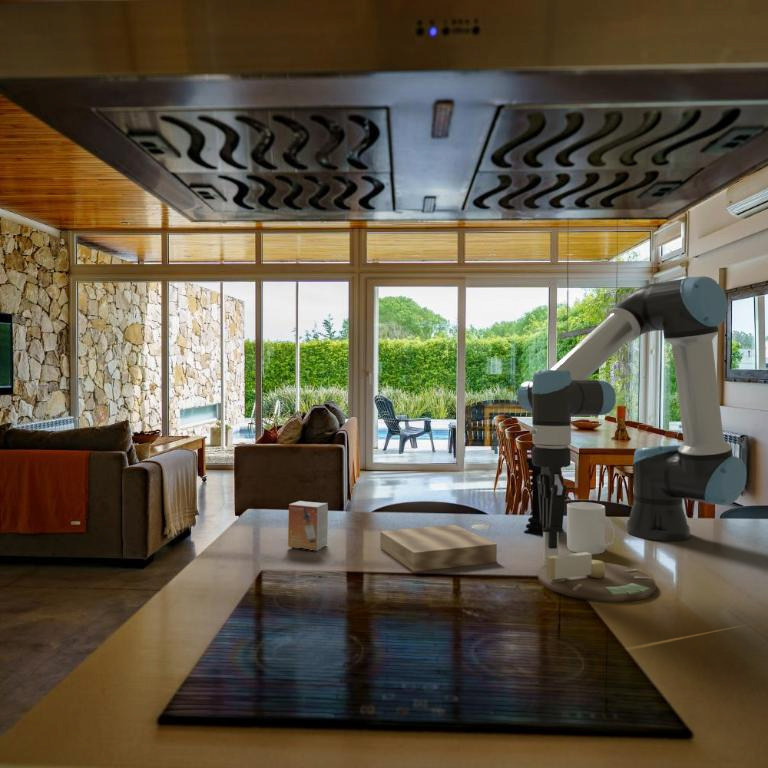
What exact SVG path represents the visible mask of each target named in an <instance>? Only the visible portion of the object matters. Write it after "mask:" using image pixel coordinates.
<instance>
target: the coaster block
mask: <svg viewBox="0 0 768 768" xmlns="http://www.w3.org/2000/svg"><path fill="white" fill-rule="evenodd" d="M379 533H380V536H379V538H380V539H379V541H380V543H379V545H380V546H379V548H380V549H381V550H383V551H384V552H385V553H387V554H388V555H390V557H392V558H394V559H395V560H396V561H398V562H400V563H401V564H402V565H404V567H406V568H408V569H409V570H411V571H412V572H414V573H415V572H422V571H423V572H424V571H431V570H441V569H448V568H457V567H466V566H475V565H483V564H485V565H486V564H493V563H497V561H498V560H497V559H498V557H497V553H498V552H497V551H498V550H497V548H498V547H497V543H495V542H494V541H493V542H492V541H491V540H489V539H487V538H484V537H482V536H480V535H478V534H476V533H474V532H471V531H470V530H467V529H465V528H463V527H461V526H459V525H456V524H449V525H448V524H447V525H437V526H426V527H425V526H424V527H414V528H413V527H412V528H402V529H391V530H380V532H379Z"/></svg>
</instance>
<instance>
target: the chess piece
mask: <svg viewBox="0 0 768 768" xmlns="http://www.w3.org/2000/svg"><path fill="white" fill-rule="evenodd" d="M525 461H526V464H528V469H527V470H528V471H531V472H532V473H531V475H532V476H531V479H530V483H531V485H532V486H531V487H532V489H531V491H532V492H531V508H532V509H531V510H532V511H531V513H532V514H531V516H530V517H529V518H527V521H528V523H527V524H526V525H525V528H526V530H524V531H523V533H524V534H529V535H530V534H531V535H538V536H543V531H542V528H543V527H542V524H541V523H540V512H539V494H538V483H537V476H539V474H541V467H539V466H535V465H533V463H532V457H526V460H525ZM563 531H564V528H563V529H562V531H559V534H560V533H562V532H563Z"/></svg>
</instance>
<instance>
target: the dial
mask: <svg viewBox="0 0 768 768" xmlns="http://www.w3.org/2000/svg"><path fill="white" fill-rule="evenodd" d="M604 563H605V576H604V577H602V578H594V577H589V576H587V575H583V576H576V577H568V578H561V579H549V578H547V564H544V565H542V566H540V568H539V569H538V571H537V580H538V581H539V583H540V585H542V586H543V587H544V588H547V589H548V590H550V591H553V592H555V593H558V594H561V595H564V596H567V597H572V598H574V599H575V598H576V599H579V600H580V599H581V600H586V601H593V602H594V601H595V602H602V603H604V602H605V603H625V602H626V603H627V602H628V603H629V602H637V601H641V600H645V599H648V598H650V597H652V596H653V595H655V593H656V581H655V579H654V578H652V577H651V576H650V575H649V574H647V573H645V572H642V571H641V570H638V569H637V568H633V567H632V568H631V567H628V566H624V565H620V564H616V563H609V562H604ZM654 592H655V593H654ZM651 595H652V596H651Z"/></svg>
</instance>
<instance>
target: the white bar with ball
mask: <svg viewBox="0 0 768 768" xmlns="http://www.w3.org/2000/svg"><path fill="white" fill-rule="evenodd" d="M592 555H593V554H590V553H588V552H582V553H575V552H572V553H566V554H558V555H556V556H550V557H547V564H546V565H547V578H549V579H561V578H568V577H576V576H583V575H587V576H589V577H594V578H602V577H604V576H605V563H606V562H604V561H603V560H597V559H592V558H593V557H592Z"/></svg>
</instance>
